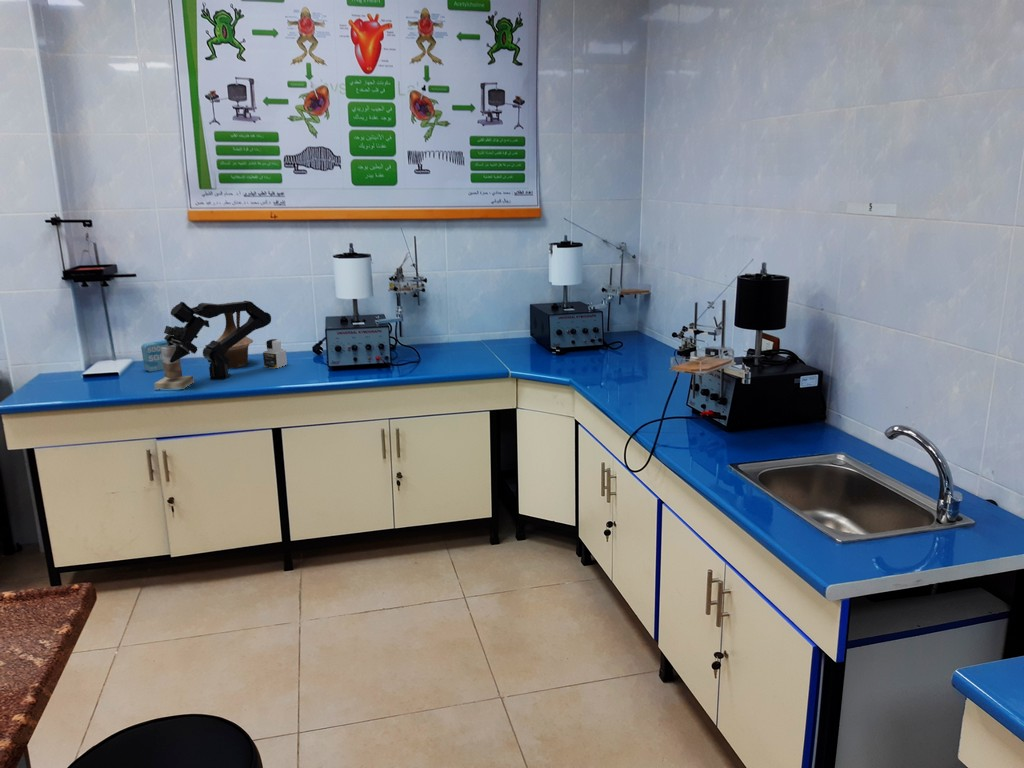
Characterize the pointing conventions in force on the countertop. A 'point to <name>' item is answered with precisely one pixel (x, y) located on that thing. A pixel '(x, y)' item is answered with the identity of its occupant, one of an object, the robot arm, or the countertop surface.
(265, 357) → the medicine bottle
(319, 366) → the countertop surface
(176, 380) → the beige square block
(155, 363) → the data package
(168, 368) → the gray square block
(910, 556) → the countertop surface
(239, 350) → the pitcher
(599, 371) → the countertop surface
